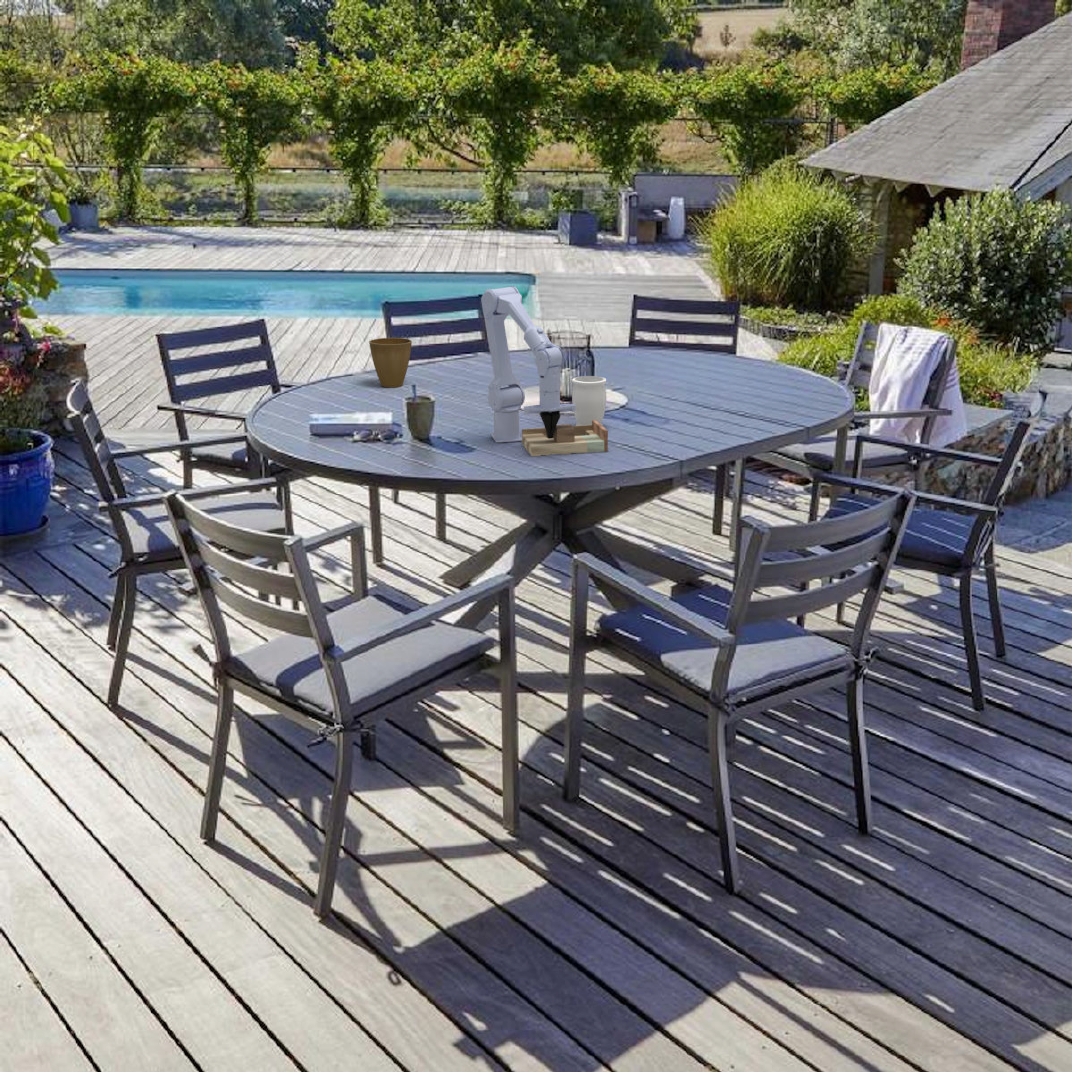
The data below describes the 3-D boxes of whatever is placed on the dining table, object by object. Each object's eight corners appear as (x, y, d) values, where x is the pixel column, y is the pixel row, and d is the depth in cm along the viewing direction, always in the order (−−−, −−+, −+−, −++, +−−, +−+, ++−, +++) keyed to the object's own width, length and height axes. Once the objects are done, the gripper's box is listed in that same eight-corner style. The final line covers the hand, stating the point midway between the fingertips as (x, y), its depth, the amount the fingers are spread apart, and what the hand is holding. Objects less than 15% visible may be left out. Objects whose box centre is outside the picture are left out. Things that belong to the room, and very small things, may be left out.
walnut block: (553, 438, 358) (553, 425, 357) (570, 437, 359) (570, 424, 358) (557, 443, 354) (557, 429, 352) (574, 441, 355) (574, 428, 353)
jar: (609, 430, 379) (609, 381, 374) (575, 432, 378) (575, 383, 373) (602, 422, 389) (602, 374, 384) (569, 424, 388) (569, 376, 383)
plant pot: (399, 391, 436) (397, 345, 431) (363, 388, 442) (360, 342, 437) (421, 383, 449) (419, 338, 444) (385, 380, 455) (383, 336, 450)
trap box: (521, 444, 365) (521, 424, 363) (595, 439, 369) (595, 419, 367) (531, 456, 352) (531, 435, 350) (607, 451, 356) (607, 430, 354)
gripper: (527, 394, 346) (527, 442, 350) (578, 391, 349) (578, 439, 353) (522, 389, 353) (522, 436, 357) (572, 386, 355) (572, 433, 360)
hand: (550, 437), depth 355 cm, fingers closed
